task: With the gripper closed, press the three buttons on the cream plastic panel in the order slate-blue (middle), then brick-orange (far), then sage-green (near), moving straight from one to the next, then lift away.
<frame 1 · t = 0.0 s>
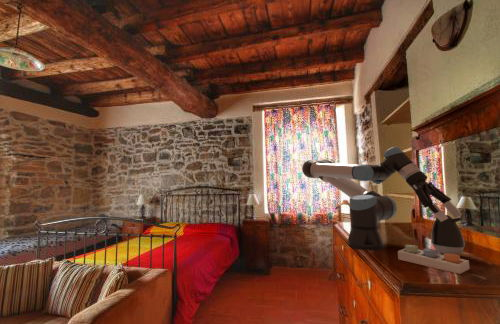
hand: (452, 218, 90), 14 cm above the dresser top, tool tilted 35°, fingers open, 13 cm apart
orange button: (452, 258, 76), point 4 cm above the dresser top, slide at 0.0 cm
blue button: (430, 253, 81), point 4 cm above the dresser top, slide at 0.0 cm
button panel: (431, 264, 80), on the dresser top
green button: (411, 249, 86), point 4 cm above the dresser top, slide at 0.0 cm
dark glossy ovoid: (449, 254, 90), on the dresser top
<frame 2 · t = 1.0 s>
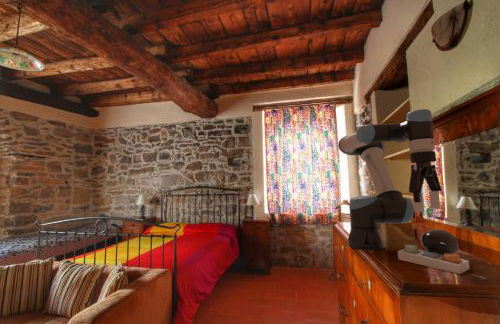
hand: (427, 210, 82), 19 cm above the dresser top, tool pointing down, fingers open, 13 cm apart
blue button: (430, 255, 81), point 3 cm above the dresser top, slide at 0.7 cm
dark glossy ovoid: (445, 243, 89), point 4 cm above the dresser top, touching button panel
everything else where it was.
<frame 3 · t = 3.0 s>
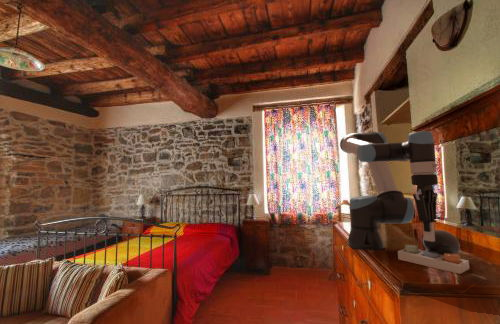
hand: (429, 240, 81), 8 cm above the dresser top, tool pointing down, fingers closed
dark glossy ovoid: (446, 245, 89), point 4 cm above the dresser top, touching button panel, gripper
everything else where it was.
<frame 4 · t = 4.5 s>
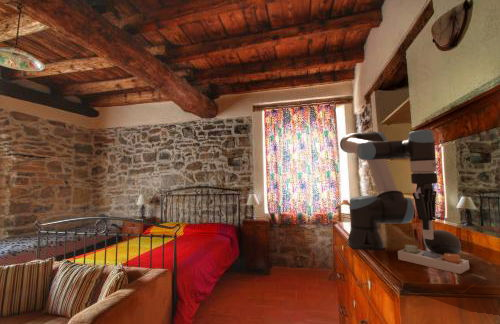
hand: (428, 238, 82), 9 cm above the dresser top, tool pointing down, fingers closed
dark glossy ovoid: (447, 245, 89), point 4 cm above the dresser top
everything else where it was.
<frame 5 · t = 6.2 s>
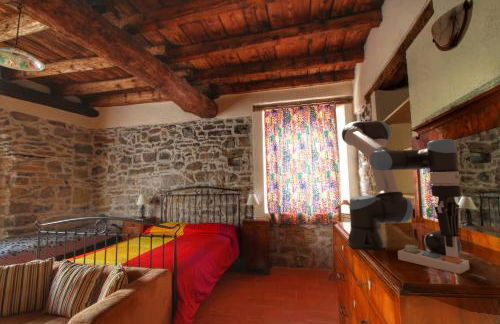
hand: (452, 256, 75), 4 cm above the dresser top, tool pointing down, fingers closed
orange button: (452, 260, 75), point 3 cm above the dresser top, slide at 0.7 cm, touching gripper
dark glossy ovoid: (448, 244, 89), point 4 cm above the dresser top, touching button panel
everything else where it was.
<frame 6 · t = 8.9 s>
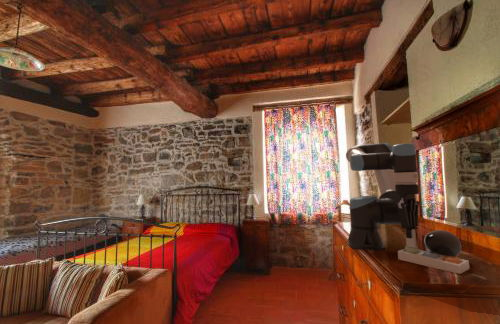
hand: (411, 246, 86), 5 cm above the dresser top, tool pointing down, fingers closed
orange button: (452, 261, 75), point 3 cm above the dresser top, slide at 1.0 cm
green button: (411, 250, 86), point 3 cm above the dresser top, slide at 0.3 cm, touching gripper
everything else where it was.
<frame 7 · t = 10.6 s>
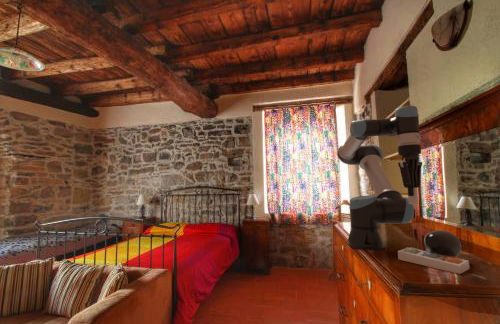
hand: (413, 204, 90), 20 cm above the dresser top, tool pointing down, fingers closed
green button: (411, 252, 86), point 3 cm above the dresser top, slide at 1.0 cm
everything else where it was.
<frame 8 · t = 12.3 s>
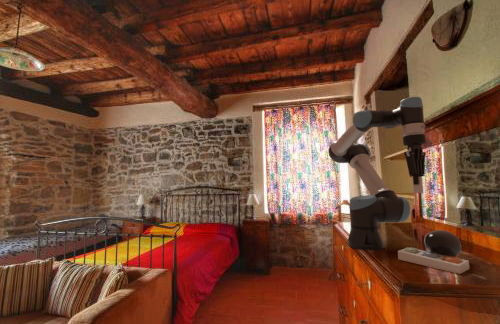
hand: (418, 192, 92), 24 cm above the dresser top, tool pointing down, fingers closed
nothing on the dresser top moved.
at the end: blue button slide at 1.0 cm; orange button slide at 1.0 cm; green button slide at 1.0 cm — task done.
